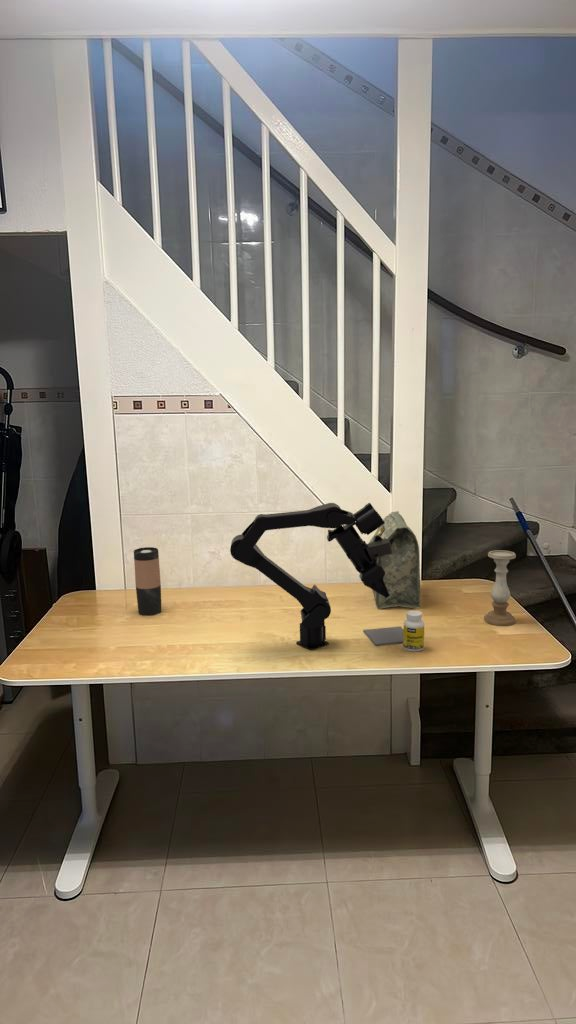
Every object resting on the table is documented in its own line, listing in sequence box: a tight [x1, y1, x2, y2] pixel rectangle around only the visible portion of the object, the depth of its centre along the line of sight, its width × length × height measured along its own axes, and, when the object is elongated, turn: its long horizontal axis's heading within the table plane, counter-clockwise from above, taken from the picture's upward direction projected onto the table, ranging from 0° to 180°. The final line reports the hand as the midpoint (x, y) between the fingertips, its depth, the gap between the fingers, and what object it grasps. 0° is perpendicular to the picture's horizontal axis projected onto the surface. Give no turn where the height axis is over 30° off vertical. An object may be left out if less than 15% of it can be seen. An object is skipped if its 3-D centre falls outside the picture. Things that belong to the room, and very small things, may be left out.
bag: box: [367, 510, 421, 609], centre depth 221 cm, size 22×16×27 cm
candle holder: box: [483, 549, 517, 627], centre depth 199 cm, size 9×9×20 cm
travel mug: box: [133, 546, 162, 617], centre depth 215 cm, size 8×8×20 cm
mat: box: [363, 625, 404, 647], centre depth 190 cm, size 11×11×1 cm
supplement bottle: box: [402, 610, 425, 652], centre depth 181 cm, size 5×5×10 cm
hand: (384, 591), depth 185 cm, fingers open, 9 cm apart
